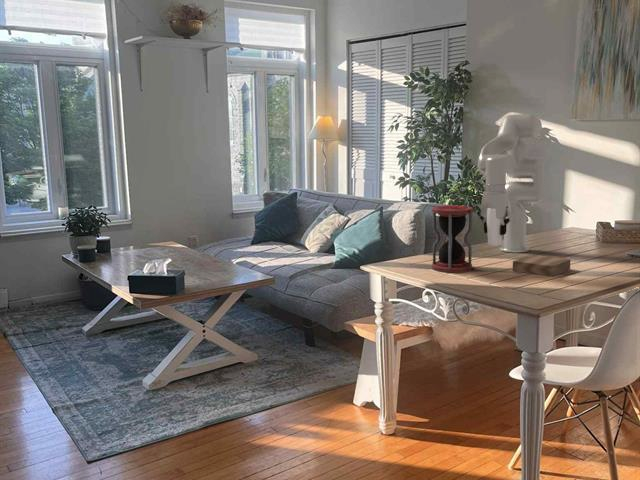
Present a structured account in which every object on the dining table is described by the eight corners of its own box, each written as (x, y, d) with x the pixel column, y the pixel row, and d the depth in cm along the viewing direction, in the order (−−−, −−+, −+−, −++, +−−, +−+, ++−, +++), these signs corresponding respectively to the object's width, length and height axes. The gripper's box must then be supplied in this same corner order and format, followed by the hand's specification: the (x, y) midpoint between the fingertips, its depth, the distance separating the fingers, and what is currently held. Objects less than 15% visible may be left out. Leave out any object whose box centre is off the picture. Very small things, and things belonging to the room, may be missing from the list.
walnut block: (512, 270, 248) (512, 260, 248) (532, 264, 259) (532, 254, 259) (551, 276, 237) (551, 266, 236) (570, 269, 248) (570, 259, 247)
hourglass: (470, 273, 246) (471, 210, 241) (428, 271, 251) (429, 209, 246) (473, 265, 261) (474, 205, 256) (434, 263, 266) (435, 204, 261)
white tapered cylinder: (504, 243, 251) (504, 206, 248) (503, 246, 245) (503, 208, 242) (486, 242, 253) (487, 206, 250) (485, 246, 247) (485, 208, 244)
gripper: (471, 188, 248) (470, 232, 251) (511, 191, 236) (510, 237, 239) (481, 186, 253) (480, 229, 257) (520, 188, 241) (519, 234, 244)
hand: (494, 233), depth 248 cm, fingers closed on white tapered cylinder, 6 cm apart
